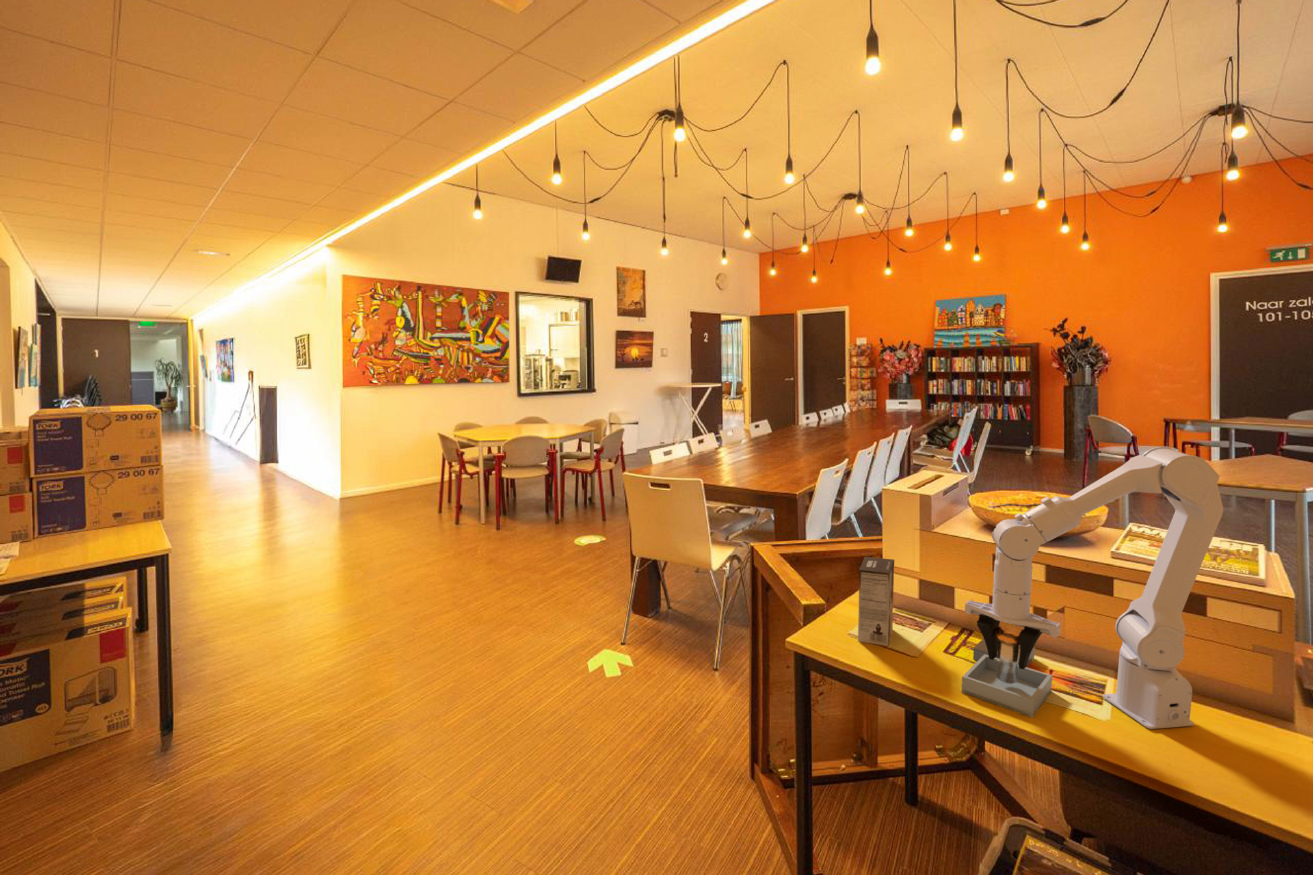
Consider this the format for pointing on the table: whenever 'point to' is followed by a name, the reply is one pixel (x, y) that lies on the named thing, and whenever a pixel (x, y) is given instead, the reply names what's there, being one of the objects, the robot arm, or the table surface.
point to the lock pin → (1007, 653)
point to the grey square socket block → (982, 649)
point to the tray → (1007, 687)
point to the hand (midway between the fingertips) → (1007, 662)
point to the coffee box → (876, 600)
